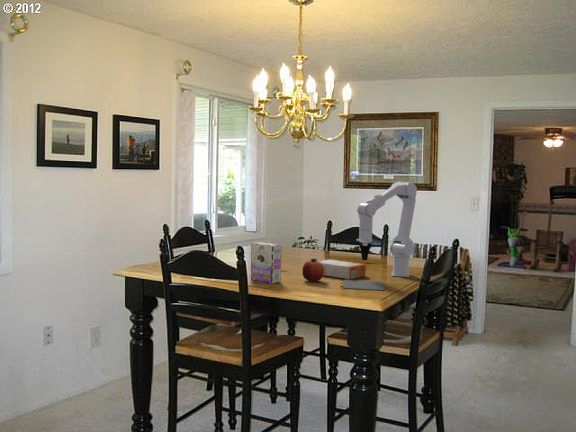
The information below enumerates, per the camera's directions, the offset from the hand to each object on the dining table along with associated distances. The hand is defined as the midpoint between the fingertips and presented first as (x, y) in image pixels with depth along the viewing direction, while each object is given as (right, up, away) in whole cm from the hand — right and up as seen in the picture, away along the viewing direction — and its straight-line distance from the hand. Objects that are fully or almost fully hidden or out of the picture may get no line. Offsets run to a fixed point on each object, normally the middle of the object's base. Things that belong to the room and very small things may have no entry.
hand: (364, 260), depth 273 cm
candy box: (-44, -9, -10) cm, 46 cm away
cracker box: (-2, -6, +3) cm, 7 cm away
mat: (-2, -10, -13) cm, 16 cm away
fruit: (-24, -9, -7) cm, 26 cm away
